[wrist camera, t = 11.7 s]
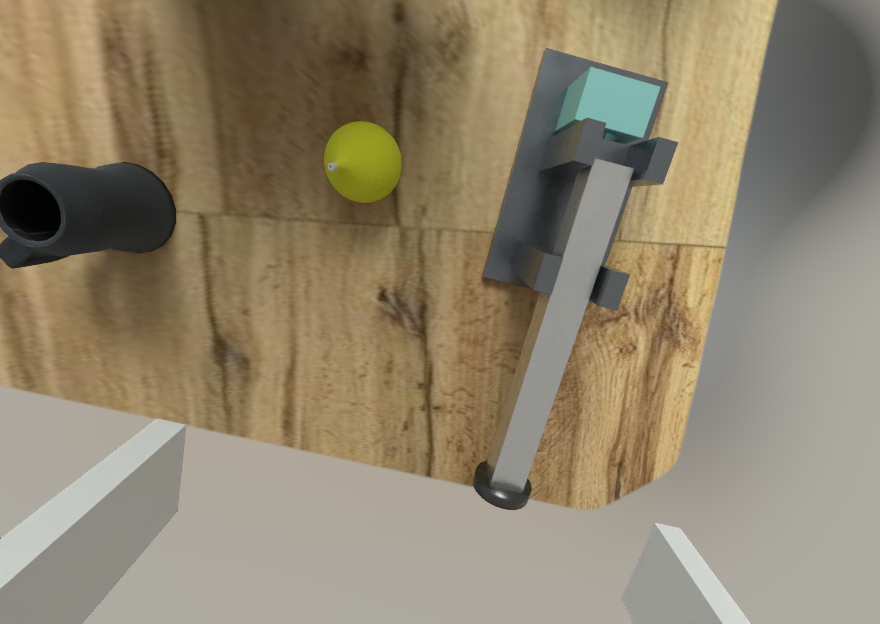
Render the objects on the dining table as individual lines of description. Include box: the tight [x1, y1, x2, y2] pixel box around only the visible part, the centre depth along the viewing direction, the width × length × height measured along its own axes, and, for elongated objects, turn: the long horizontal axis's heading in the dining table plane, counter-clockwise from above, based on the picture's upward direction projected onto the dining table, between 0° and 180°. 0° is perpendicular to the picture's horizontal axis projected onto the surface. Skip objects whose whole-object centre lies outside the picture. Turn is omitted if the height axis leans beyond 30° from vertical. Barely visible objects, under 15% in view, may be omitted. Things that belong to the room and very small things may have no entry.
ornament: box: [321, 121, 402, 203], centre depth 37 cm, size 7×7×10 cm
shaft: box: [473, 158, 634, 510], centre depth 37 cm, size 6×31×6 cm, turn 166°
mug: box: [0, 162, 176, 269], centre depth 38 cm, size 12×9×11 cm
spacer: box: [555, 67, 660, 144], centre depth 37 cm, size 6×4×6 cm, turn 76°
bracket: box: [483, 48, 678, 310], centre depth 37 cm, size 12×22×12 cm, turn 166°
